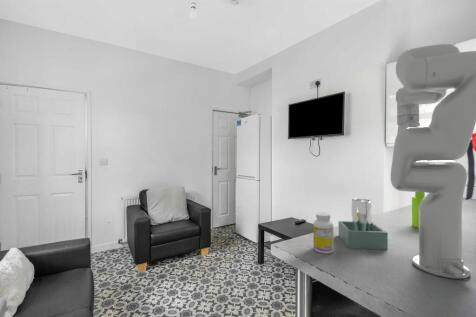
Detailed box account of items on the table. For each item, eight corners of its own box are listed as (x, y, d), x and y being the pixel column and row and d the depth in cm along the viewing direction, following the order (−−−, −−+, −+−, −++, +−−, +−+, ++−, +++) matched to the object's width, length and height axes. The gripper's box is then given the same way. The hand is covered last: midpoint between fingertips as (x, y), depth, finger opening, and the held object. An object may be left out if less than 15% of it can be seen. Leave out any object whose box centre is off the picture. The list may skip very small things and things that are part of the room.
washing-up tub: (387, 249, 82) (387, 232, 82) (348, 247, 84) (348, 231, 84) (372, 236, 95) (372, 222, 95) (338, 235, 97) (338, 221, 97)
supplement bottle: (317, 245, 87) (317, 210, 87) (336, 249, 83) (336, 213, 82) (310, 251, 82) (310, 214, 82) (329, 256, 77) (329, 217, 77)
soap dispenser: (413, 228, 105) (413, 183, 105) (410, 223, 111) (410, 182, 111) (430, 229, 103) (430, 184, 102) (426, 225, 109) (426, 182, 108)
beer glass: (366, 236, 93) (366, 198, 92) (375, 242, 86) (375, 202, 86) (348, 236, 93) (348, 198, 93) (356, 242, 86) (355, 202, 86)
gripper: (431, 116, 89) (431, 161, 89) (406, 123, 106) (406, 160, 106) (409, 117, 90) (409, 162, 90) (388, 123, 107) (388, 160, 107)
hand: (408, 161), depth 98 cm, fingers open, 9 cm apart
